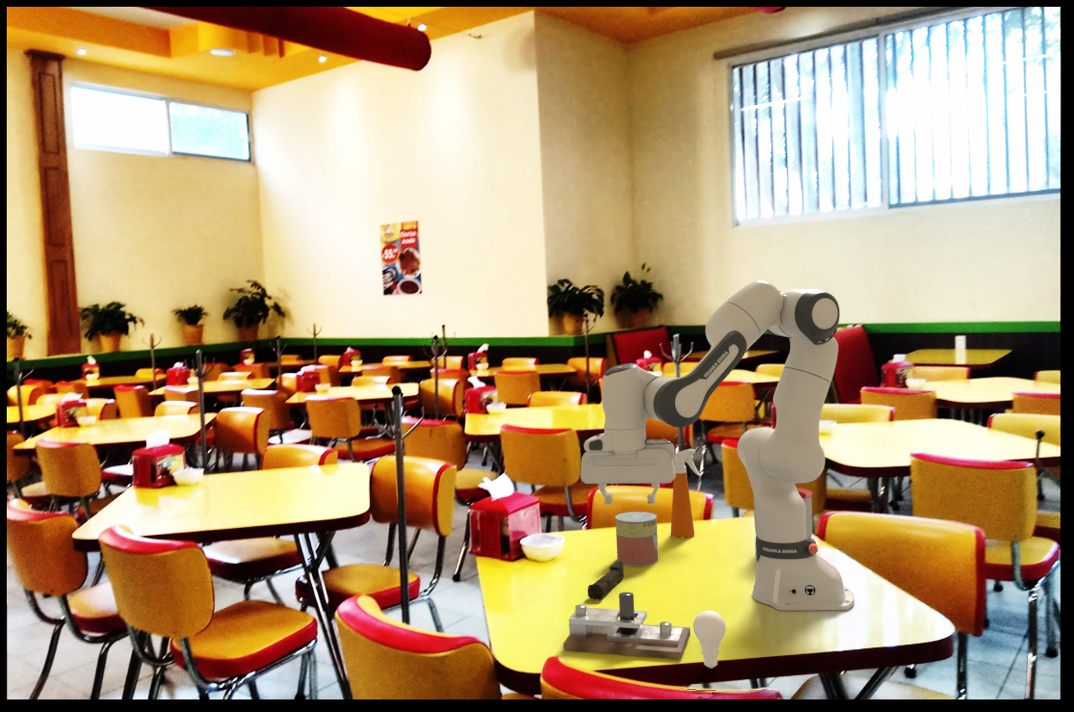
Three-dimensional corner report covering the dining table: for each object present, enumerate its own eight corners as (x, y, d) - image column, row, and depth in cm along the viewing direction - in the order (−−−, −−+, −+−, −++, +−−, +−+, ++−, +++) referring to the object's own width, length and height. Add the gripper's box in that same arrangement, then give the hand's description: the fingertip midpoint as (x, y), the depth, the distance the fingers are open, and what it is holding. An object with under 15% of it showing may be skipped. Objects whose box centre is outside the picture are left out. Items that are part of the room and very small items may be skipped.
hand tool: (602, 601, 204) (601, 582, 204) (587, 599, 206) (586, 580, 206) (633, 578, 221) (632, 560, 220) (618, 576, 223) (617, 558, 222)
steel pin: (636, 633, 179) (634, 592, 179) (633, 638, 177) (631, 596, 176) (622, 631, 181) (621, 591, 180) (618, 636, 178) (617, 595, 178)
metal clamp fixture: (683, 632, 178) (682, 606, 178) (678, 645, 172) (677, 618, 172) (578, 625, 185) (577, 600, 185) (569, 637, 179) (568, 611, 178)
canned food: (658, 566, 228) (656, 521, 227) (615, 566, 230) (613, 522, 229) (659, 553, 239) (657, 511, 238) (618, 553, 241) (616, 511, 240)
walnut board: (690, 634, 181) (690, 627, 181) (681, 659, 169) (680, 652, 169) (580, 626, 189) (579, 619, 188) (563, 650, 176) (563, 643, 176)
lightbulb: (722, 660, 168) (720, 604, 167) (730, 673, 162) (728, 616, 161) (691, 662, 168) (689, 606, 167) (698, 675, 161) (696, 618, 161)
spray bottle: (694, 541, 249) (691, 451, 247) (665, 535, 257) (662, 448, 255) (709, 536, 254) (706, 448, 252) (680, 530, 262) (677, 444, 260)
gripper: (676, 436, 185) (680, 499, 186) (583, 438, 191) (588, 499, 192) (671, 441, 179) (676, 506, 180) (576, 443, 185) (581, 506, 186)
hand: (630, 503), depth 186 cm, fingers open, 8 cm apart
